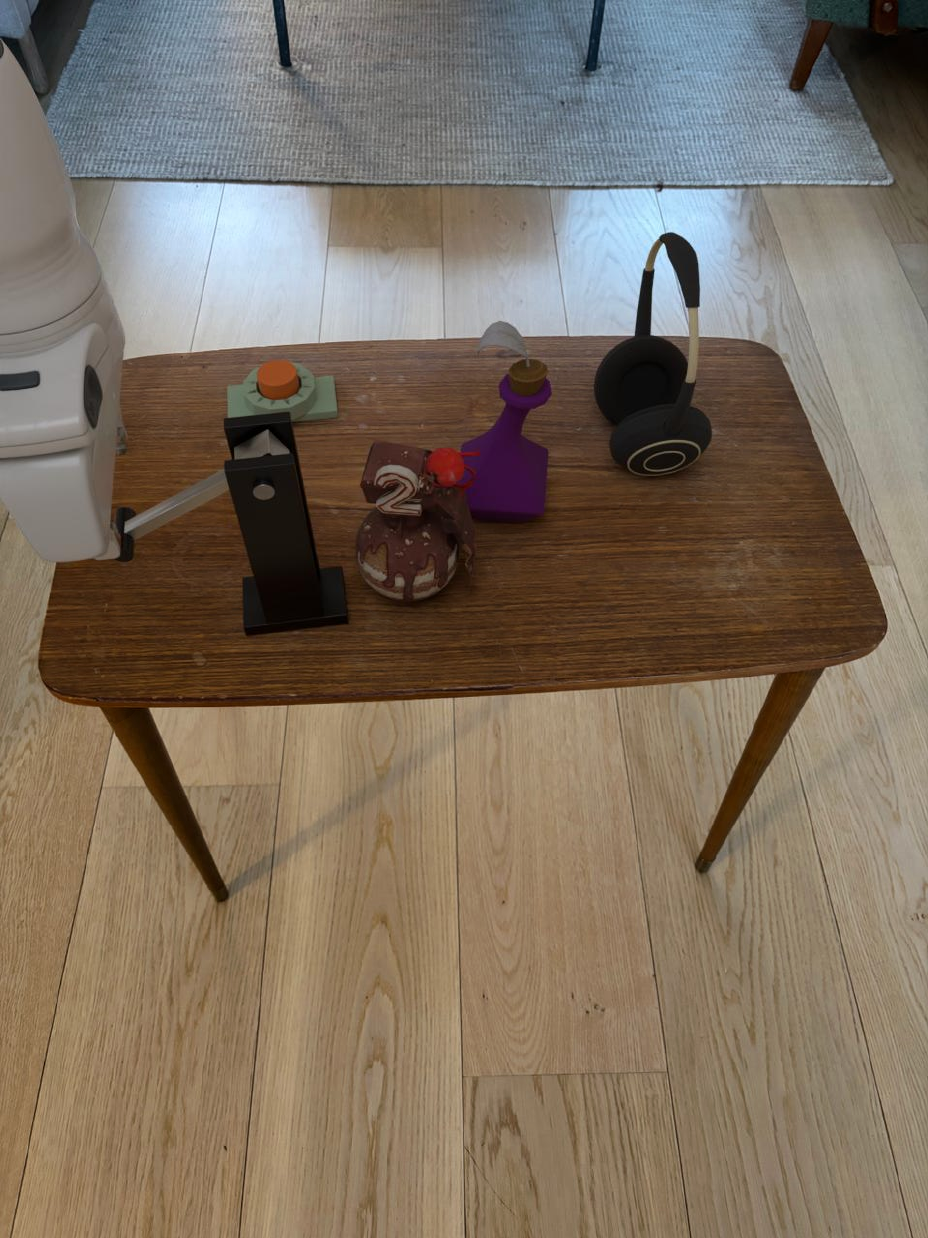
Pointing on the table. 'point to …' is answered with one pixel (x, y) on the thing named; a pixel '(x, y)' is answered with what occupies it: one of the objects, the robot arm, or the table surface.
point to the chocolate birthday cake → (414, 520)
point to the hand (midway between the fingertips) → (112, 497)
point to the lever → (187, 496)
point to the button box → (305, 405)
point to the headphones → (656, 380)
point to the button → (278, 380)
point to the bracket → (279, 536)
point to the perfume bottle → (509, 442)
